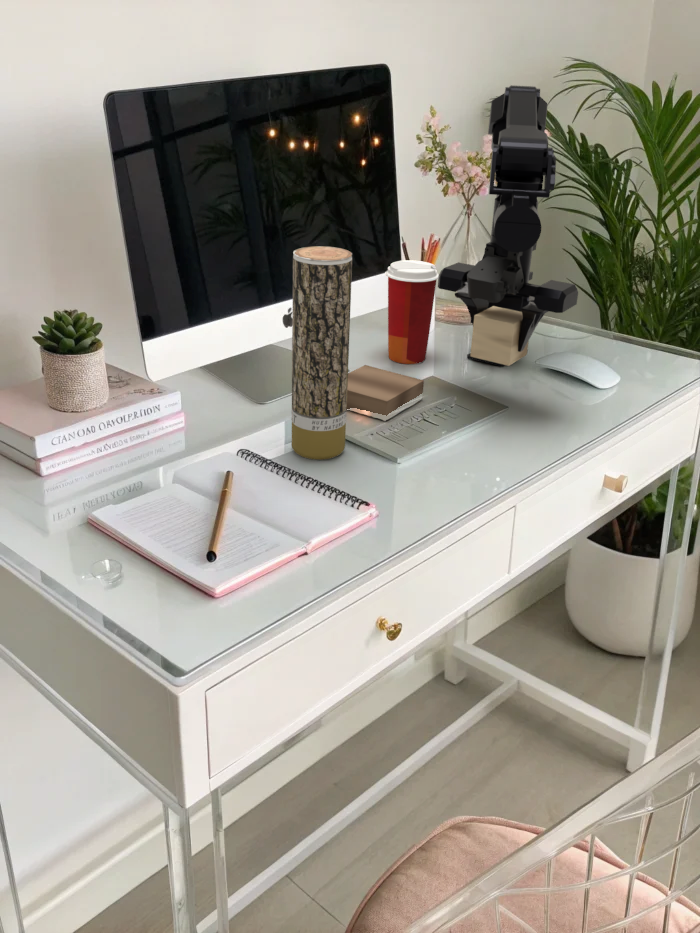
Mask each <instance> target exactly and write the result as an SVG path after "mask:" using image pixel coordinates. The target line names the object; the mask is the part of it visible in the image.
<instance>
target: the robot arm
mask: <svg viewBox="0 0 700 933" xmlns="http://www.w3.org/2000/svg"><path fill="white" fill-rule="evenodd" d="M547 113H548V102H546V101H545V100H544V98H542V97H541V88H537V87H536V86H533V85H532V86H531V85H530V86H529V85H528V86H527V85H511V84H510V86H506V87H505V88H504V93H502V94H501V95H499V96H497V97H496V98H494V99H493V100H491V103H490V111H489V119H488V120H489V122H488V128H487V129H488V131H487V132H488V133H487V135H490V136H492V137H491V146H490V147H491V150H492V151H491V153H492V154H491V160H490V173H489V187H488V194H489V195H495V196H496V197H495V198H494V203H493V204H494V205H493V214H492V215H493V216H492V224H491V232H490V241H489V242H487V243H486V245H485V247H484V254H483V256H482V258H481V260H479V261H478V262H477V263H476V264H475V265H474V264H469V263H464V262H457V263H454V264H450V265H448V266H446V267H444V268H442V270H440V272H439V273H438V274H439V277H438V279H437V280H438V281H437V288H438V289H441V290H443V291H450V292H453V293H454V296H455V298H457V299H460V300H461V301H462V302H463V304H465V305H466V309H467V310H468V314H469V317H470V324H471V325H473V324H474V315H476V314H478V313H480V312H482V311H484V310H486V309H488V308H490V307H492V306H496V307H501V308H505V309H510V310H515V311H520V312H522V315H523V319H522V325H521V330H520V335H519V341H518V351H519V352H521V351H523V350H524V348H525V346H526V344H527V342H528V341H529V340H530V338H531V337H532V335H533V333H534V331H535V330H536V328H537V326H538V325H539V323H540V321H541V320H542V318H543V317H544V316H545V314H547V313H548V312H551V313H555V314H561V313H562V314H563V313H565V312H567V311H568V310H569V309H571V308H573V307H575V306H577V305H578V304H577V303H578V298H579V290H578V288H577V286H576V284H574V283H569V282H566V281H565V282H564V281H558V280H553V279H550V280H549V281H547V282H544V283H543V284H541V285H539V284H533V283H530V282H529V281H531V280H533V275H534V272H533V271H531V264H532V255H533V251H536V250H537V243H538V240H539V239H540V237H541V233H542V223H541V219H540V216H539V212H538V208H539V200H538V199H537V198H546V199H547V198H548V199H549V198H550V194H551V193H550V192H551V191H554V189H555V185H556V172H557V171H556V169H557V168H556V166H557V157H556V155H555V154H554V153H555V150H554V149H553V147H549V139H548V133H546V132H545V130H546V126H547V125H546V124H547ZM495 182H496V185H495ZM543 183H544V185H543ZM543 187H544V188H543ZM529 342H530V341H529ZM529 342H528V343H529ZM470 354H471V352H469V353H468V354H466V358H467V359H470V360H473V361H476V362H477V361H478V362H483V363H485V364H491V365H494V366H498V367H504V366H505V365H503V364H499V363H495V362H491V361H487V360H483V359H479V358H474V357H470Z"/></svg>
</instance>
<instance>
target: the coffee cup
mask: <svg viewBox="0 0 700 933" xmlns="http://www.w3.org/2000/svg"><path fill="white" fill-rule="evenodd" d="M436 268H437V267H436V265H435V264H433V263H431V262H428V261H422V260H415V259H414V260H412V259H411V260H409V259H408V260H407V259H406V260H397V261H393V262H392V263H390V266H388V267H387V270H386V271H385V272H384V274H385V276H386V277H387V338H388V339H387V346H388V348H387V349H388V350H387V351H388V359H389V360H390V361H392V362H394V363H397V364H401V365H402V364H403V365H417V364H421V363H423V362H425V359H426V357H427V350H428V345H429V337H430V330H431V323H432V317H433V316H432V315H433V309H434V308H433V307H434V302H435V301H434V300H435V295H436V294H435V293H436V285H437V280H438V277H439V274H440V273H438V270H437V269H436Z"/></svg>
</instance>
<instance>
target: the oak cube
mask: <svg viewBox="0 0 700 933" xmlns="http://www.w3.org/2000/svg"><path fill="white" fill-rule="evenodd" d="M522 319H523V315H522V312H520V311H515V310H510V309H505V308H501V307H496V306H492V307H490V308H488V309H486V310H484V311H482V312H480V313H478V314H476V315H474V324H472V336H471V345H470V346H471V347H470V353H471V354H470V357H474V358H479V359H483V360H487V361H491V362H495V363H499V364H503V365H504V366H508V367H510V366H511V365H513V364H514V363H515V362H518V361H519V360H521V359H522V358H524V357H525V356H527V355H528V350H529V349H528V348H529V342H530V341H528V342H527V344H526V346H525V348H524V350H523V351H521V352H519V351H518V341H519V335H520V330H521V325H522Z"/></svg>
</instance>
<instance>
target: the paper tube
mask: <svg viewBox="0 0 700 933" xmlns="http://www.w3.org/2000/svg"><path fill="white" fill-rule="evenodd" d="M292 253H293V255H292V315H291V316H292V318H291V319H292V326H291V327H292V328H291V329H292V330H291V332H292V336H291V338H292V340H291V342H292V343H291V348H292V349H291V447H292V448H291V449H292V450H293V451H294V452H295V454H297V455H298V456H300V457H302V458H305V459H308V460H319V461H320V460H322V461H324V460H330V459H333V458H336V457H338V456H340V455H341V454H342V452H344V450H345V449H346V448H345V447H346V434H347V433H346V429H347V412H348V410H347V385H348V373H349V356H350V354H349V353H350V333H351V332H350V331H351V329H350V327H351V326H350V325H351V303H352V302H351V300H352V279H353V278H352V275H353V273H352V272H353V252H351V251H349V250H347V249H344V248H341V247H334V246H322V245H321V246H315V245H314V246H305V247H301V248H297V249H295V250H293V252H292Z"/></svg>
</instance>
